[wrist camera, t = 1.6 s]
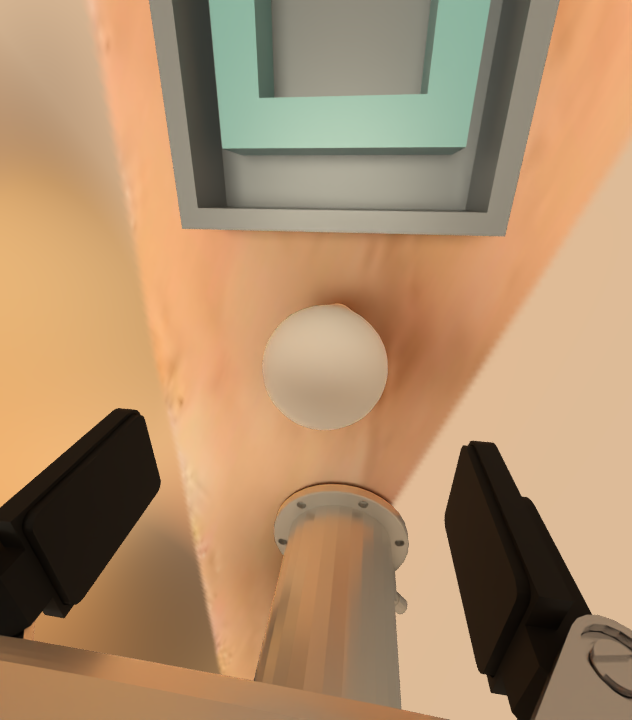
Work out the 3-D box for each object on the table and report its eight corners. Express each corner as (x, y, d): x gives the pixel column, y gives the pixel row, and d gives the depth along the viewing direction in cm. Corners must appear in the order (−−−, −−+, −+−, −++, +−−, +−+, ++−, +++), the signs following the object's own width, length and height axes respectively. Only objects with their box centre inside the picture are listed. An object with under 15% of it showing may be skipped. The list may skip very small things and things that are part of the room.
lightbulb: (364, 259, 22) (360, 307, 12) (393, 341, 24) (411, 439, 14) (281, 292, 24) (219, 359, 14) (315, 367, 26) (282, 470, 16)
